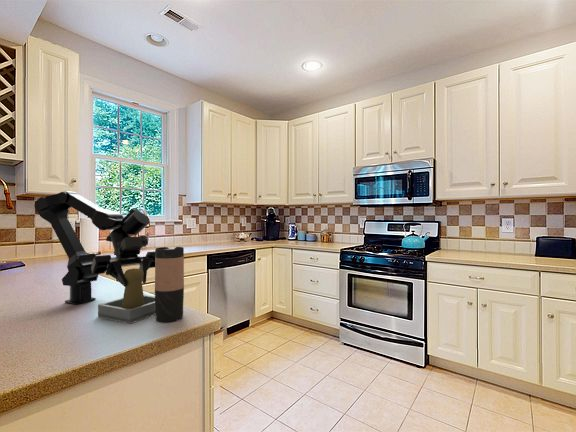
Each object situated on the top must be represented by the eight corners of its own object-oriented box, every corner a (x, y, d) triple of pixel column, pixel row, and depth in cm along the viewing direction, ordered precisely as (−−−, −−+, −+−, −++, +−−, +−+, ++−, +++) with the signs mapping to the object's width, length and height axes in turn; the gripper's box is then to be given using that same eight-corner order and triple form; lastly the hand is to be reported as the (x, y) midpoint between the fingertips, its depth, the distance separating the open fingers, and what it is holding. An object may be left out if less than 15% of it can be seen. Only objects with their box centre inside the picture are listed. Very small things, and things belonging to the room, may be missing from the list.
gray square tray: (98, 317, 84) (98, 304, 84) (137, 304, 95) (137, 293, 95) (129, 323, 78) (129, 310, 78) (167, 309, 90) (167, 298, 90)
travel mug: (166, 325, 77) (166, 250, 77) (148, 319, 81) (149, 248, 81) (189, 317, 84) (189, 247, 84) (172, 312, 88) (172, 246, 88)
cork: (117, 306, 86) (117, 269, 86) (136, 301, 91) (136, 266, 91) (130, 310, 83) (131, 271, 83) (149, 304, 88) (149, 268, 88)
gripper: (94, 227, 83) (105, 272, 75) (160, 226, 96) (175, 264, 89) (87, 252, 88) (96, 296, 81) (150, 248, 102) (163, 285, 94)
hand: (135, 284), depth 86 cm, fingers closed on cork, 5 cm apart
